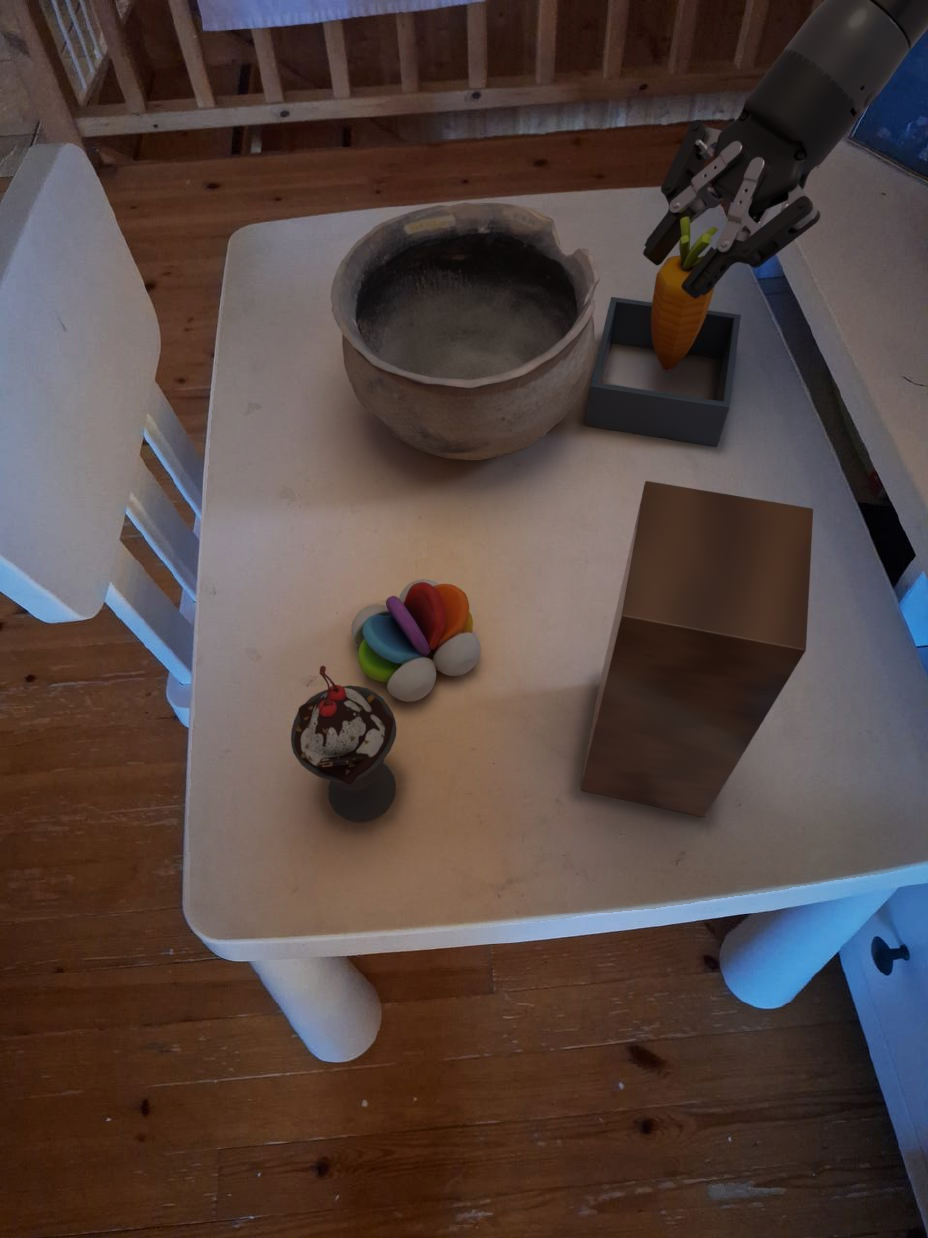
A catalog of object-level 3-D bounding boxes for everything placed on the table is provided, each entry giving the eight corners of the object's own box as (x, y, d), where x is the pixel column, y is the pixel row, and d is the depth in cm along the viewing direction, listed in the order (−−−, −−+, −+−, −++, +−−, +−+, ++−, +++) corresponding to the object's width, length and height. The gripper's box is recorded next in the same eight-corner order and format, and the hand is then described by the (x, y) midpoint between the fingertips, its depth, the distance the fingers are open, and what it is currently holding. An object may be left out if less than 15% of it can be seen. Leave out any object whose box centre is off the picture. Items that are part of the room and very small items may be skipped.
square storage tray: (728, 355, 88) (741, 314, 84) (717, 446, 82) (729, 407, 78) (605, 337, 90) (611, 296, 86) (585, 425, 84) (590, 385, 80)
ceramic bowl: (624, 466, 81) (649, 334, 69) (395, 535, 78) (376, 410, 65) (531, 312, 92) (537, 174, 80) (327, 367, 89) (299, 231, 76)
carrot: (640, 349, 86) (666, 204, 73) (693, 353, 85) (728, 208, 72) (638, 386, 83) (664, 243, 70) (693, 390, 82) (729, 247, 70)
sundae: (354, 730, 68) (323, 628, 55) (425, 778, 66) (410, 683, 53) (297, 799, 65) (251, 708, 53) (369, 851, 63) (339, 769, 51)
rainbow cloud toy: (497, 662, 71) (498, 613, 65) (391, 723, 69) (381, 678, 62) (441, 587, 75) (437, 534, 69) (339, 642, 72) (324, 592, 66)
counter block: (716, 706, 69) (813, 508, 48) (705, 817, 64) (806, 650, 44) (599, 682, 70) (645, 479, 49) (579, 790, 65) (621, 615, 45)
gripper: (741, 11, 67) (594, 214, 75) (881, 97, 61) (705, 310, 68) (777, 64, 73) (637, 248, 80) (908, 148, 67) (743, 339, 74)
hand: (669, 275), depth 74 cm, fingers closed on carrot, 4 cm apart
